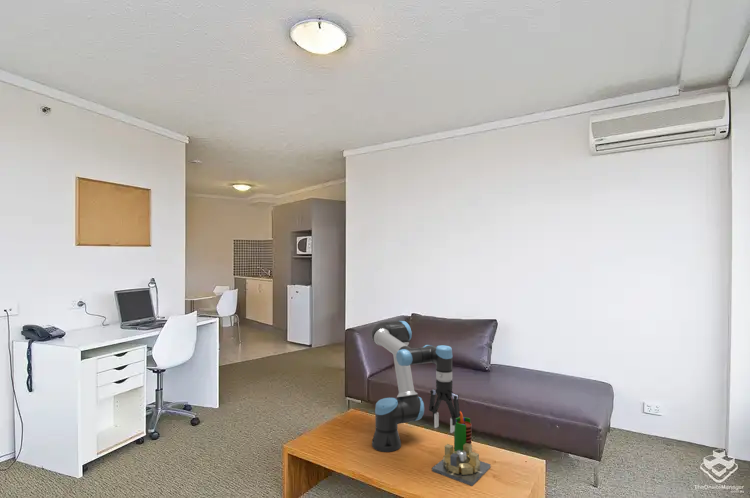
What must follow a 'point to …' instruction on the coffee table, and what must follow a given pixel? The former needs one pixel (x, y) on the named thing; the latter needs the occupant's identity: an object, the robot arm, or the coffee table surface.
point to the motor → (462, 432)
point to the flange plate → (466, 479)
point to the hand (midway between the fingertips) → (444, 429)
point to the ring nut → (464, 468)
